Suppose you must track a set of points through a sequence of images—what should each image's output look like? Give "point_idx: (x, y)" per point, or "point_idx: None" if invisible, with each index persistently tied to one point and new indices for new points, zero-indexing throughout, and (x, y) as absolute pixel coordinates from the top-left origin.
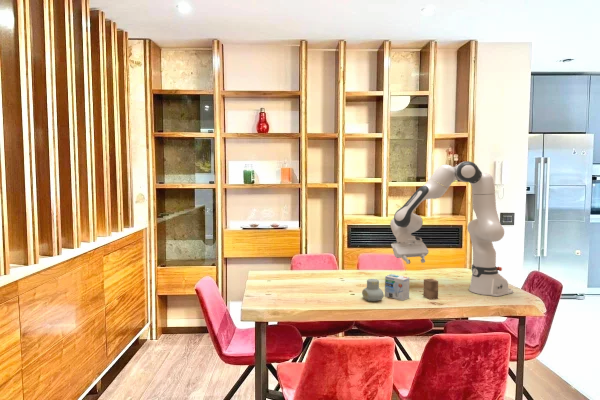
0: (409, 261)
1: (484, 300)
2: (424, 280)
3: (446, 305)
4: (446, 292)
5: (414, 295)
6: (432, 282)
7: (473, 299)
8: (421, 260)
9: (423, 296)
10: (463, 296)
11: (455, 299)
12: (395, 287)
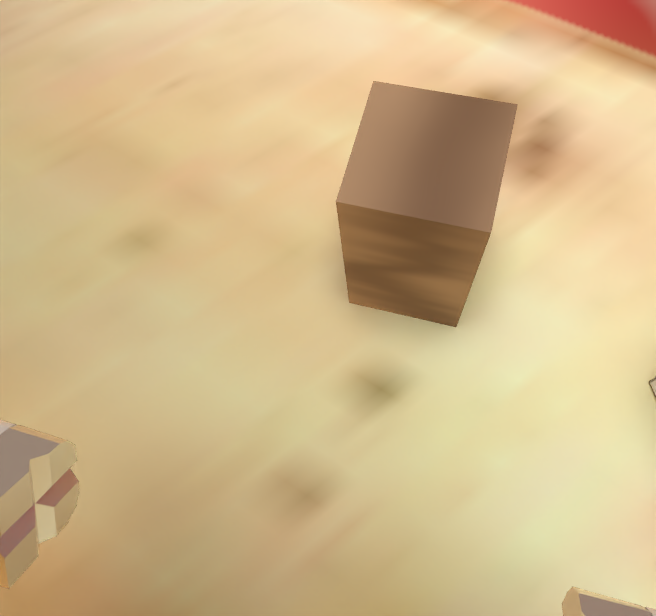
0: (623, 612)
1: (90, 7)
2: (491, 221)
3: (479, 60)
4: (107, 296)
5: (514, 412)
6: (470, 105)
7: (131, 55)
8: (30, 528)
9: (456, 325)
10: (111, 139)
11: (257, 120)
12: None
